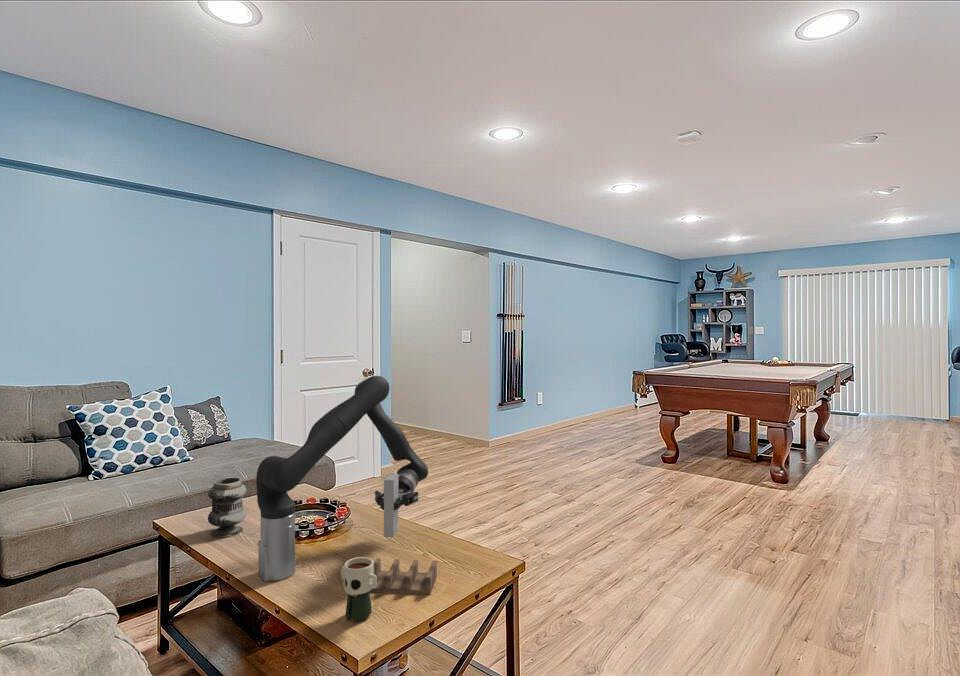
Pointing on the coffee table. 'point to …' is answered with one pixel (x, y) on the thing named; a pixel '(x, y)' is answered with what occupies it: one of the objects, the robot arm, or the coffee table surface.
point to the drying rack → (404, 579)
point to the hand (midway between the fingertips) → (389, 506)
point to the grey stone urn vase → (227, 506)
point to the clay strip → (390, 505)
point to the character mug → (358, 586)
